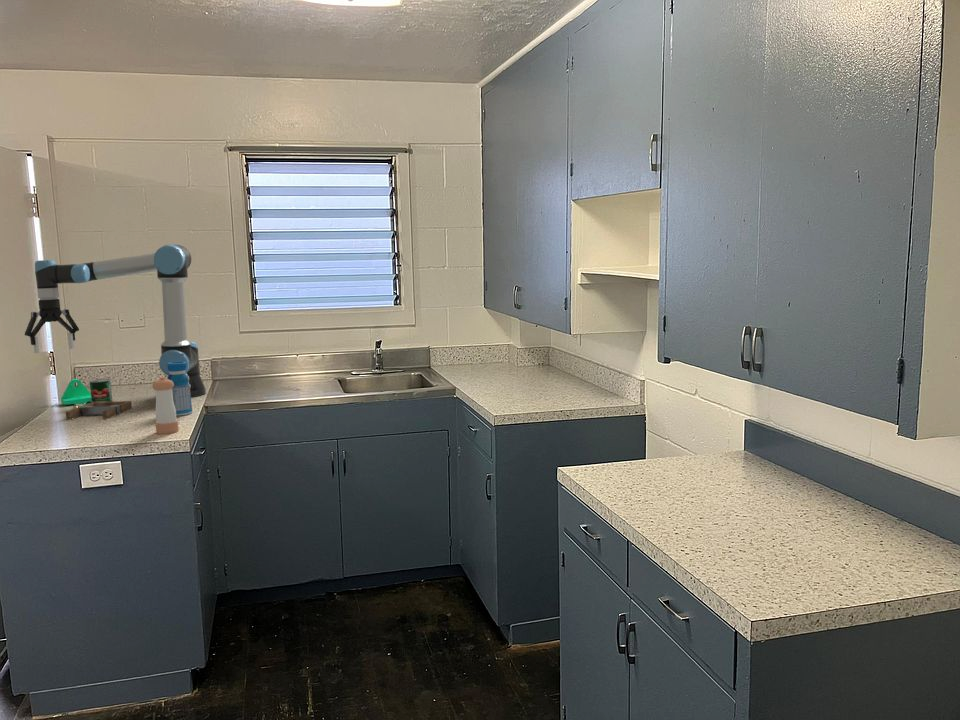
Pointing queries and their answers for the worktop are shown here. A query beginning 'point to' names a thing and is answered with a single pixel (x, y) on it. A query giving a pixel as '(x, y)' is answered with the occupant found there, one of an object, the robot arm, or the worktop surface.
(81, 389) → the camera mount
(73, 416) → the frame
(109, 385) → the canned tomato
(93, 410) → the bar
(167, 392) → the pepper shaker
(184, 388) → the beverage bottle
